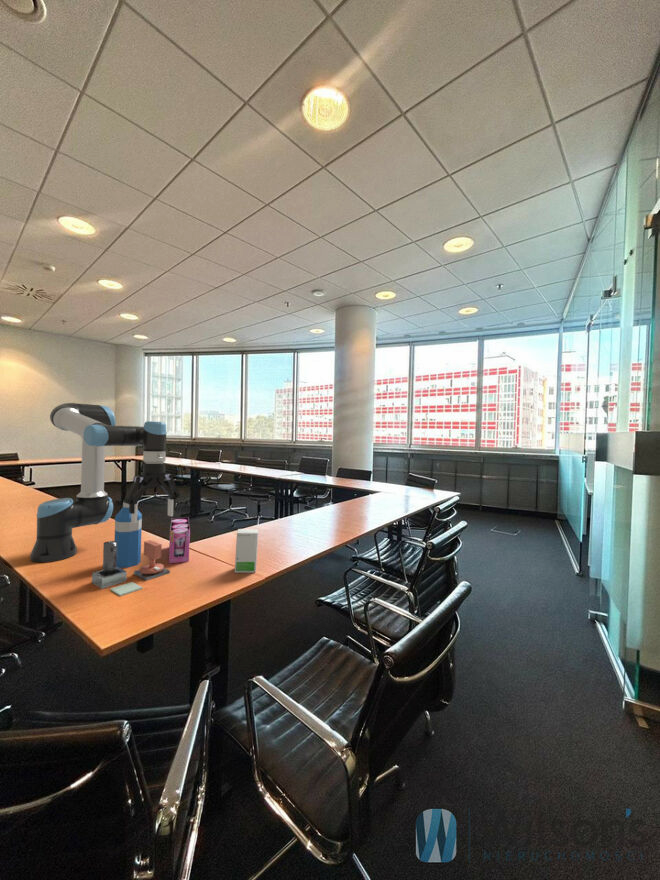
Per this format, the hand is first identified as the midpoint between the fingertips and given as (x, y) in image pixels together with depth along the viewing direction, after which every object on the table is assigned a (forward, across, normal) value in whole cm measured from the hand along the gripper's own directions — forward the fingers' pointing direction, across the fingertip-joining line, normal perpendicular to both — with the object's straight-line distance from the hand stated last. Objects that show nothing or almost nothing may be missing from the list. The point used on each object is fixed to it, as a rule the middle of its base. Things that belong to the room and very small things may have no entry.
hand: (153, 518), depth 129 cm
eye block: (+21, -13, +4) cm, 25 cm away
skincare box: (+21, +25, -24) cm, 41 cm away
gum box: (+21, +18, +12) cm, 31 cm away
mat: (+21, -12, -6) cm, 25 cm away
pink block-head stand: (+19, 0, 0) cm, 19 cm away
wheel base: (+21, 0, 0) cm, 21 cm away
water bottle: (+21, -1, +17) cm, 27 cm away
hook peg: (+21, -13, +4) cm, 25 cm away
